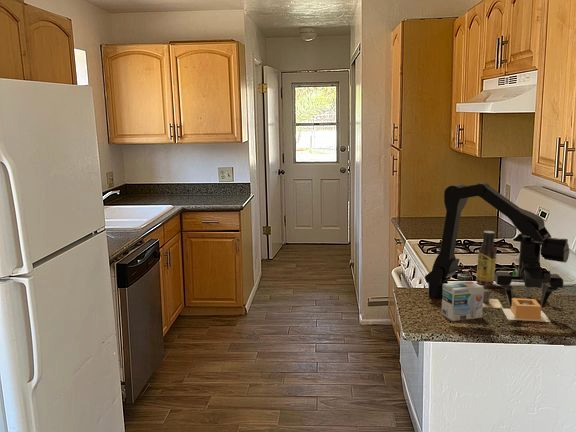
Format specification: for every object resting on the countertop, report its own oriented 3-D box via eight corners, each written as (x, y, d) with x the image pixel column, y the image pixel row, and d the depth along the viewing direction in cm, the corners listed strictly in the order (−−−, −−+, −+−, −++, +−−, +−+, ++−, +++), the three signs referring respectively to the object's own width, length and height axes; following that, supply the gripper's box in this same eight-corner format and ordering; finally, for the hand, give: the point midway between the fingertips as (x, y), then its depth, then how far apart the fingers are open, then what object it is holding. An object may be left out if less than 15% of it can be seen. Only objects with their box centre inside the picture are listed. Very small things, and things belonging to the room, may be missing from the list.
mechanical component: (544, 301, 184) (546, 272, 183) (512, 299, 187) (514, 271, 185) (542, 298, 187) (544, 270, 186) (510, 297, 189) (512, 269, 188)
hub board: (508, 322, 166) (508, 308, 165) (501, 311, 175) (502, 297, 175) (550, 324, 164) (551, 310, 163) (541, 313, 173) (542, 299, 172)
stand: (473, 309, 177) (474, 294, 176) (469, 300, 186) (470, 286, 185) (502, 310, 176) (503, 295, 175) (497, 301, 184) (498, 287, 184)
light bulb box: (452, 324, 165) (454, 289, 163) (440, 316, 171) (441, 283, 169) (483, 320, 168) (485, 286, 166) (470, 313, 174) (471, 280, 172)
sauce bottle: (472, 281, 208) (475, 230, 204) (486, 280, 209) (489, 229, 206) (483, 286, 201) (486, 233, 198) (498, 285, 203) (501, 232, 200)
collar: (515, 318, 167) (516, 305, 166) (510, 310, 173) (511, 298, 173) (540, 319, 165) (541, 306, 165) (534, 311, 172) (535, 299, 171)
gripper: (502, 262, 160) (499, 313, 163) (571, 265, 157) (566, 317, 159) (495, 253, 171) (492, 301, 173) (559, 255, 167) (555, 304, 170)
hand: (526, 306), depth 169 cm, fingers open, 9 cm apart
